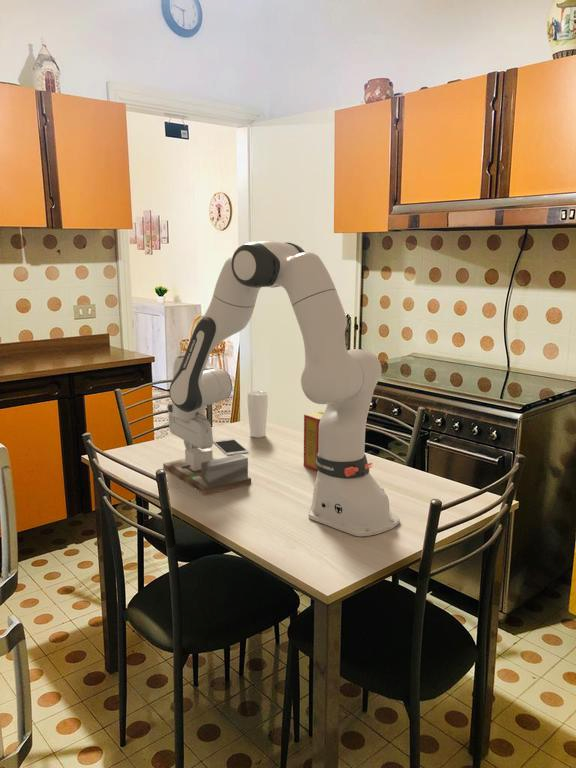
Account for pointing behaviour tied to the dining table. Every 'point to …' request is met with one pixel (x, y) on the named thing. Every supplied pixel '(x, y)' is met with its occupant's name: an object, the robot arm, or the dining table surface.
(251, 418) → the white travel tumbler
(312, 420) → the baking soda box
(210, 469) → the grey stepped block
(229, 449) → the smartphone
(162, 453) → the dining table surface
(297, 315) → the robot arm
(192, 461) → the white rectangular block
